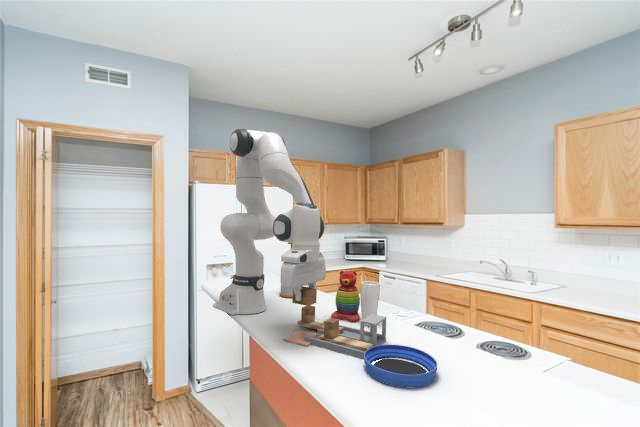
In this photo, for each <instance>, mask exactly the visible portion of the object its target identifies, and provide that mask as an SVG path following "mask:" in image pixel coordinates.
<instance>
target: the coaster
mask: <svg viewBox="0 0 640 427" xmlns="http://www.w3.org/2000/svg"><path fill="white" fill-rule="evenodd" d="M316 334H317V333H313V332H309V331H305V330H297V331H295V332H292V333H291V334H289V335H286V336H284V337H283V338H282V340H283V341H285V342H288V343H291V344H295V345H297V346H298V345H299V346H301V347H306V348H307V347H309V346H311V342H307V341H304V337H305V336H308V337H311V338H312V336H313V337H316V336H317V335H316ZM314 335H316V336H314ZM319 336H320V335H318V337H319ZM315 339H317V338H315Z"/></svg>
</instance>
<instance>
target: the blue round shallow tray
mask: <svg viewBox="0 0 640 427" xmlns="http://www.w3.org/2000/svg"><path fill="white" fill-rule="evenodd" d="M379 359H382V360H380V361H378V362H376V363H375V364H374V365H372V364H371V363H372V362H373V361H376V360H379ZM363 360H364V365H365V370H366V372H367V373H368V374H369V376H370V377H372V378H373V379H375V380H376V379H377V380H376V381H378V380H379V381H378V382H380V381H381V383H383V382H384V384H386V383H387V385H389V386H392V385H393V387H397V386H399V387H398V388H406V387H415V388H420V387H419V386H422V387H425V386H427V385H430V384H431V383H432V382H433V381H434V379H435V375H436V374H437V372H438V362H437V360H436V359H435V358H434V356H432V355H431V354H429V353H428V352H425V351H424V350H421V349H418V348H416V347H413V346H412V347H411V346H408V345H403V344H402V345H401V344H382V345H378V346H374V347H371V348H369V349H368V350H367V351H366V352H365V353H364V359H363ZM423 368H424V369H423ZM426 372H427V373H426ZM424 385H425V386H424Z"/></svg>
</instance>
